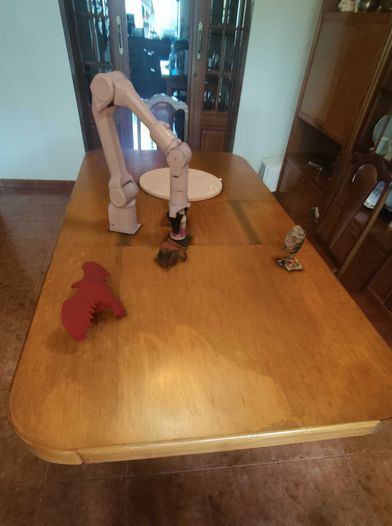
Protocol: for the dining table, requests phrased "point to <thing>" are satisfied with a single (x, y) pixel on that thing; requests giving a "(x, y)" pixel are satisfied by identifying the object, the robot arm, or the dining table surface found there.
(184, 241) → the coaster
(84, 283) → the red lobster claw
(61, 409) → the dining table surface
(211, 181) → the lazy susan
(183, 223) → the pill bottle
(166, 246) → the pottery mug
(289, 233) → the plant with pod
